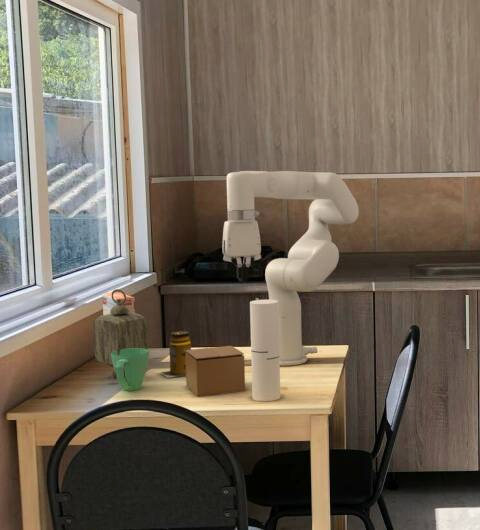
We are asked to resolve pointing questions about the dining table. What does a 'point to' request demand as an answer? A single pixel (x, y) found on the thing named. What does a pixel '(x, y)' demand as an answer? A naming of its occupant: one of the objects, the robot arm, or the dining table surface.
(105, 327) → the tabletop clock
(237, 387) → the carton
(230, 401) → the dining table surface
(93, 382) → the dining table surface
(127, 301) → the cracker box
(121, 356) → the mug
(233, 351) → the flap
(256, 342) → the cylindrical container
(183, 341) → the condiment
